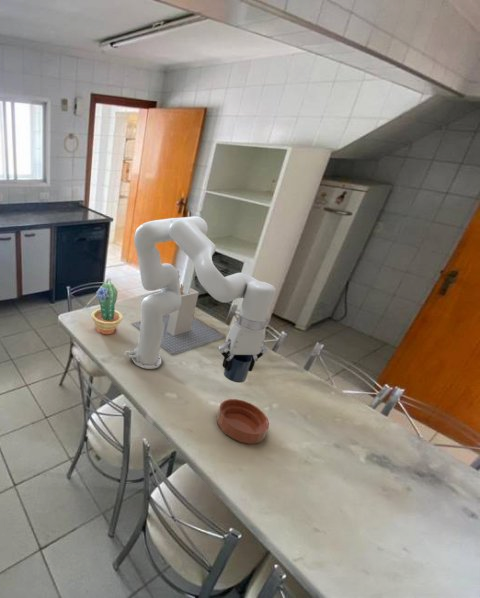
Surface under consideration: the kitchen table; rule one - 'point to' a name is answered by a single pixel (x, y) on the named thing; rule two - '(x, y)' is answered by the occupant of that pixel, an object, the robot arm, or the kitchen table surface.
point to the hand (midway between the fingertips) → (236, 368)
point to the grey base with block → (185, 327)
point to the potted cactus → (106, 309)
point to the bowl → (242, 421)
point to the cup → (239, 368)
